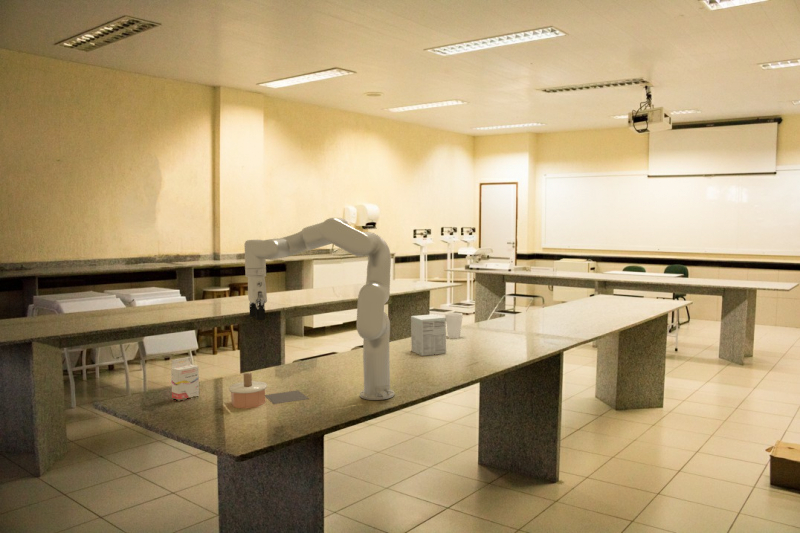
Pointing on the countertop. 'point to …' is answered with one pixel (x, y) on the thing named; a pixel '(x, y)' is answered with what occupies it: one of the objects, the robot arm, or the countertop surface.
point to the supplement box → (428, 334)
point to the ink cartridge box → (184, 379)
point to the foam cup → (453, 324)
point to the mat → (286, 397)
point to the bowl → (248, 399)
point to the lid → (247, 385)
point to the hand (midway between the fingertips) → (257, 317)
